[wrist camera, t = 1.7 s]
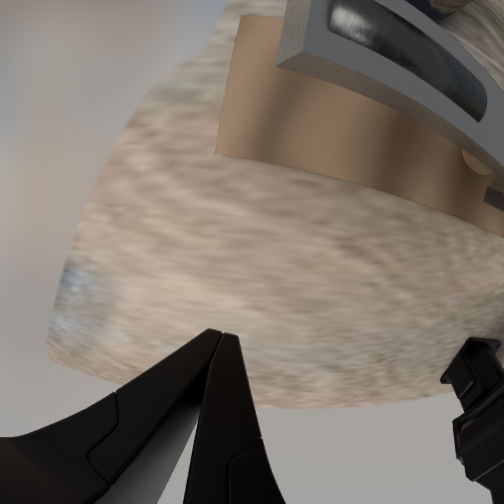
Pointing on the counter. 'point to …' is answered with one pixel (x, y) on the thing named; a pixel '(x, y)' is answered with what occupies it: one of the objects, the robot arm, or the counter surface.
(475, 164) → the walnut
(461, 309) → the counter surface
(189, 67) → the counter surface
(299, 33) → the lever
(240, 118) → the base
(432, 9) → the canister
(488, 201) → the press frame
